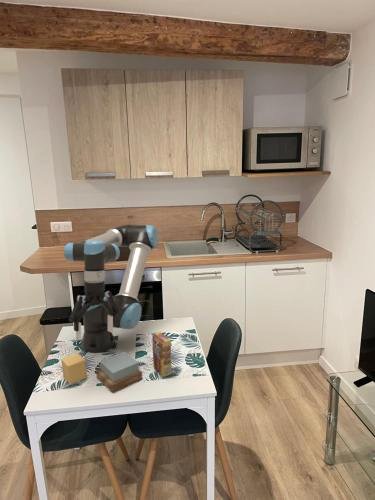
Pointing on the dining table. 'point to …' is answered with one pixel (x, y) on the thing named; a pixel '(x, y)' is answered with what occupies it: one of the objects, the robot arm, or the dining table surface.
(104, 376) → the base block
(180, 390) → the dining table surface
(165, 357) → the candy box
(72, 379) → the ochre block
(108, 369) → the top block
